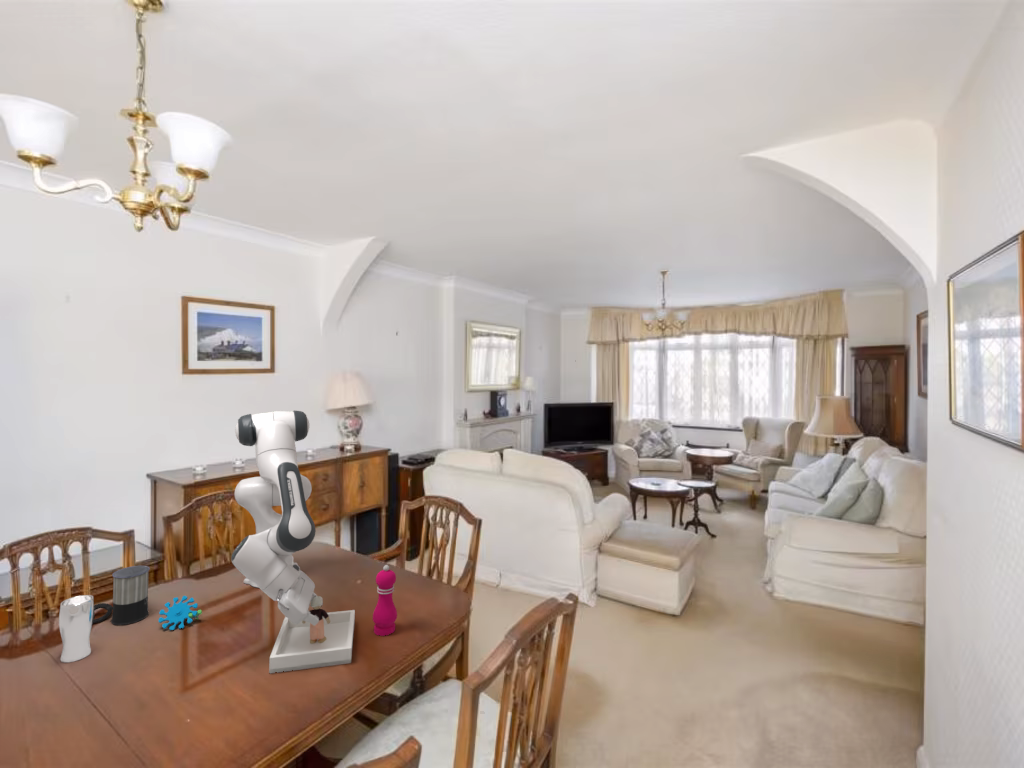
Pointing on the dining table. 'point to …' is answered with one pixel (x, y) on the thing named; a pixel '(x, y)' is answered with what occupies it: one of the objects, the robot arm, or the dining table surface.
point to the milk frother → (127, 596)
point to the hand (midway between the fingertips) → (319, 614)
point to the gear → (179, 613)
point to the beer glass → (76, 627)
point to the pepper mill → (385, 603)
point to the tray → (300, 654)
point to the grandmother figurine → (318, 629)
